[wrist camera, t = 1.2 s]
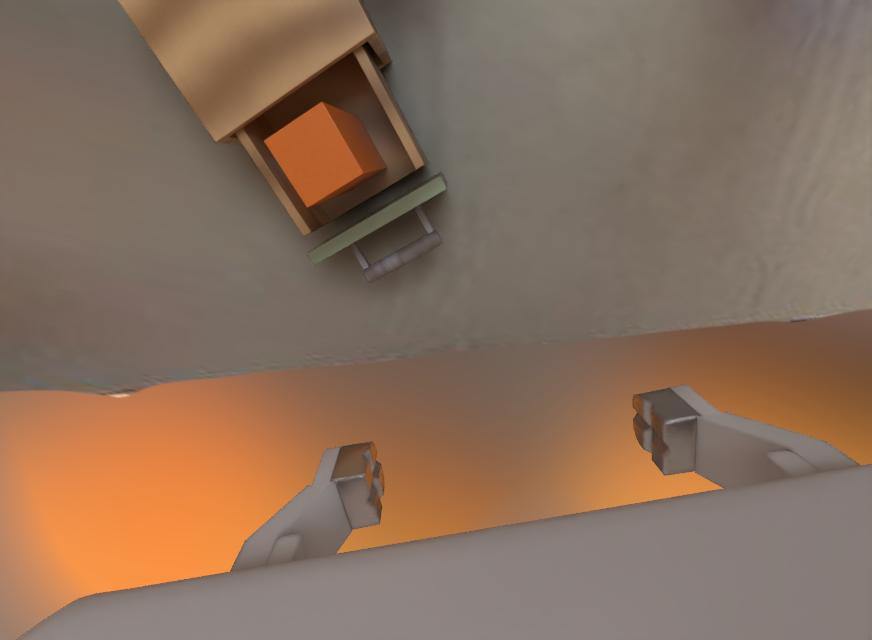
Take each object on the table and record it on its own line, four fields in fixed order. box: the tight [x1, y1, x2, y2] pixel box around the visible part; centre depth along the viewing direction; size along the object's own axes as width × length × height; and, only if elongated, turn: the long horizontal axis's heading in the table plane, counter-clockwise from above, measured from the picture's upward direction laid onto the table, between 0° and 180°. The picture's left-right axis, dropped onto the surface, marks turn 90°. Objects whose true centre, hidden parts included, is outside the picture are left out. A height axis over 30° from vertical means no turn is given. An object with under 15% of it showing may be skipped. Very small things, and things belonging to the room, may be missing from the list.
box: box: [264, 102, 387, 208], centre depth 33 cm, size 5×5×12 cm
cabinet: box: [118, 0, 392, 144], centre depth 32 cm, size 16×15×10 cm
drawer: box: [235, 43, 447, 283], centre depth 36 cm, size 19×13×8 cm
